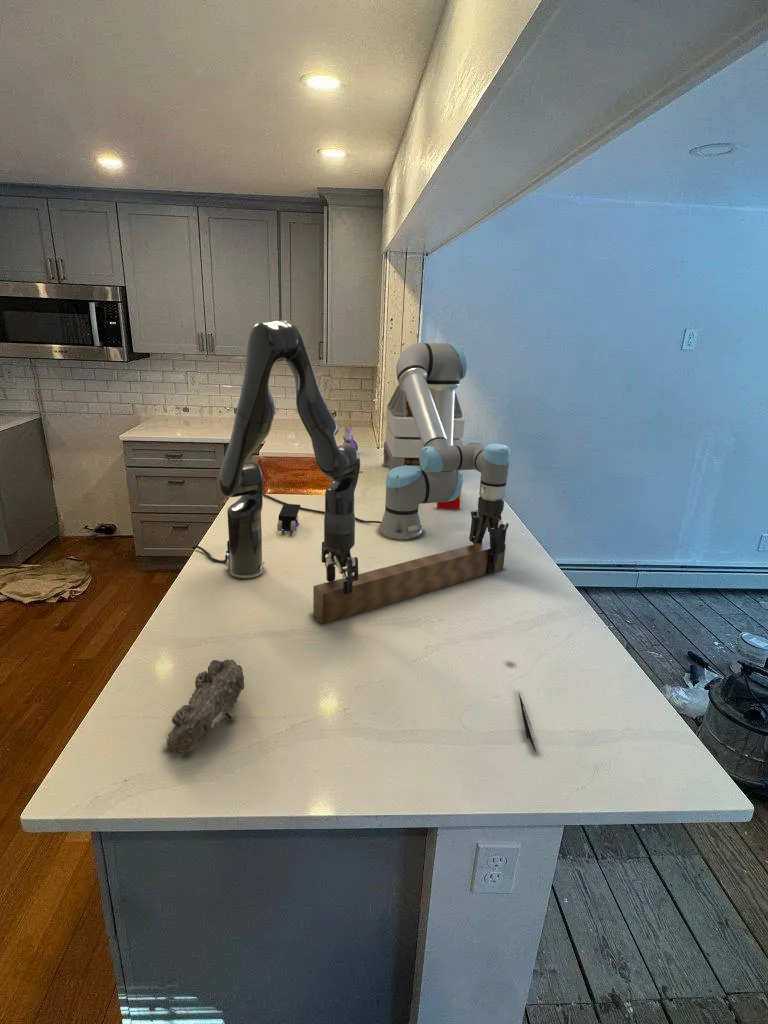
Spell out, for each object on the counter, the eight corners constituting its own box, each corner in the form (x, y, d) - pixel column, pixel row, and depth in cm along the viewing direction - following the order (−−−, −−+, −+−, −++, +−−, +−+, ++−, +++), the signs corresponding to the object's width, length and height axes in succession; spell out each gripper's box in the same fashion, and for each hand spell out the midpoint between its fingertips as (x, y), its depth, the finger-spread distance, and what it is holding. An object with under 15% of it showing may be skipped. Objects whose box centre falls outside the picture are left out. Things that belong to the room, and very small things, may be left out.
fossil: (192, 660, 117) (244, 628, 112) (224, 691, 120) (276, 661, 115) (142, 746, 98) (202, 712, 93) (182, 779, 101) (242, 748, 96)
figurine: (345, 456, 298) (346, 428, 293) (338, 452, 306) (338, 424, 301) (361, 455, 302) (362, 427, 297) (353, 451, 310) (354, 424, 305)
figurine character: (296, 541, 193) (301, 521, 206) (295, 521, 189) (301, 502, 203) (276, 540, 193) (283, 520, 206) (275, 520, 189) (282, 501, 203)
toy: (454, 466, 251) (466, 476, 222) (452, 496, 254) (463, 510, 225) (427, 466, 251) (435, 475, 222) (425, 495, 254) (433, 509, 224)
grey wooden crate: (382, 463, 289) (386, 382, 275) (445, 464, 293) (451, 384, 279) (390, 482, 257) (394, 392, 243) (460, 483, 261) (468, 394, 247)
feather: (511, 668, 129) (516, 662, 128) (535, 756, 102) (542, 749, 102) (505, 664, 129) (510, 658, 128) (527, 751, 102) (534, 744, 101)
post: (491, 563, 180) (494, 538, 177) (502, 569, 176) (506, 544, 173) (313, 615, 145) (313, 585, 142) (322, 624, 141) (322, 594, 138)
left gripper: (312, 521, 142) (312, 579, 147) (340, 539, 131) (340, 602, 136) (338, 516, 146) (338, 573, 151) (368, 533, 135) (366, 595, 140)
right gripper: (461, 490, 171) (454, 560, 179) (505, 508, 158) (495, 583, 166) (479, 487, 176) (472, 555, 183) (523, 504, 162) (513, 577, 170)
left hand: (339, 587), depth 143 cm, fingers open, 8 cm apart
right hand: (483, 568), depth 174 cm, fingers closed on post, 5 cm apart
